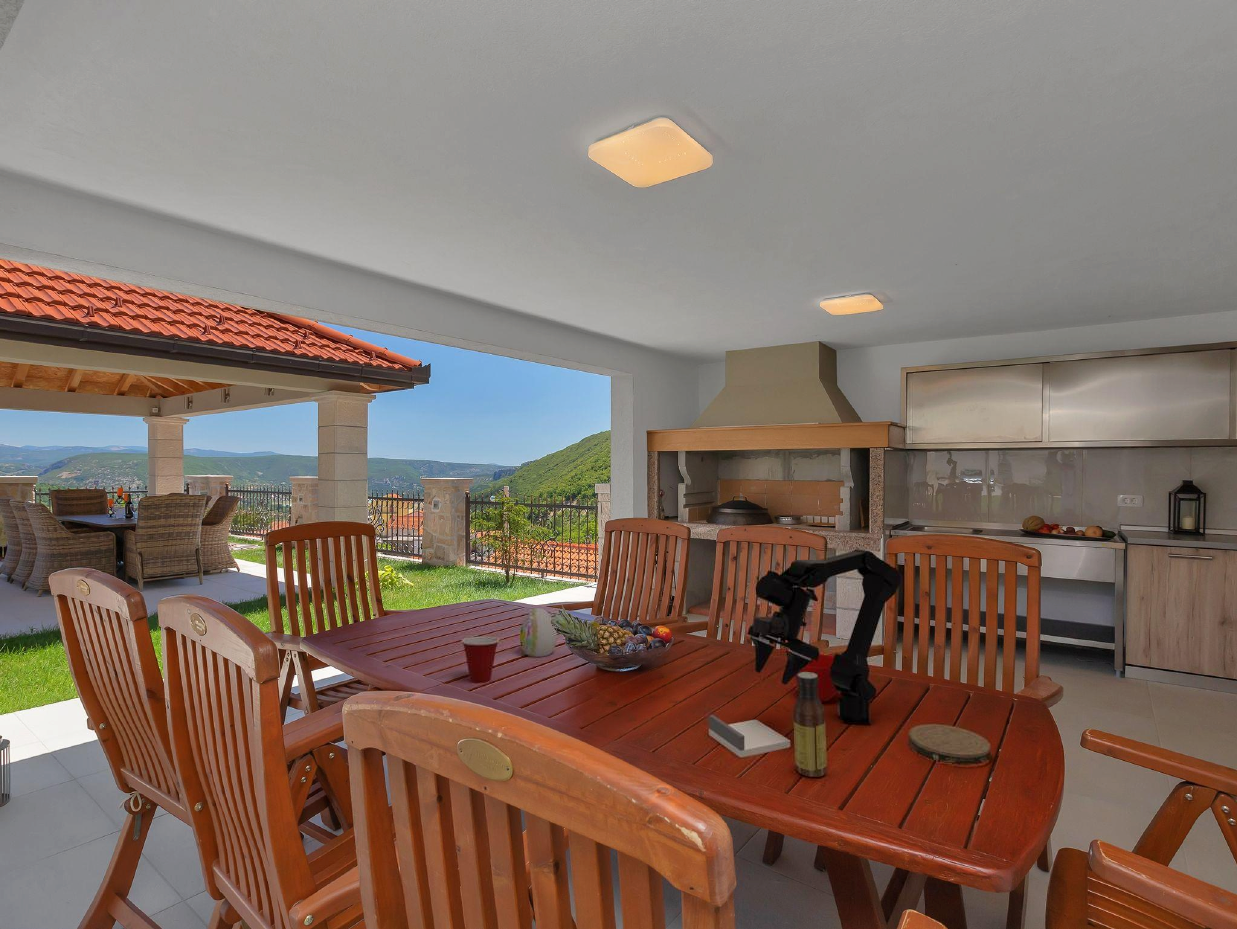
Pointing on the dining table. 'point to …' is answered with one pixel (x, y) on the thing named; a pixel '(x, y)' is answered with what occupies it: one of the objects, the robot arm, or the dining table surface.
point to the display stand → (746, 737)
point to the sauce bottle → (809, 728)
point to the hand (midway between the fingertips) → (770, 678)
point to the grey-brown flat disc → (949, 744)
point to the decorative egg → (538, 634)
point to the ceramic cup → (821, 676)
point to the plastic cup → (480, 657)
